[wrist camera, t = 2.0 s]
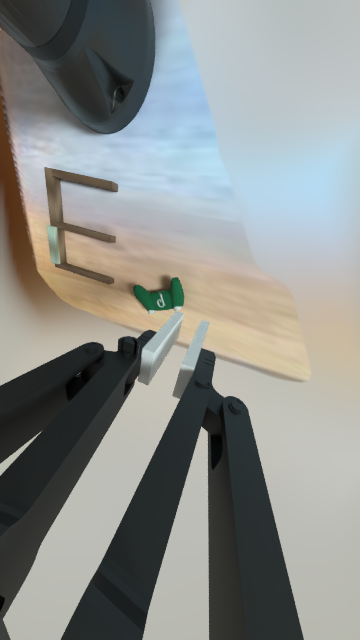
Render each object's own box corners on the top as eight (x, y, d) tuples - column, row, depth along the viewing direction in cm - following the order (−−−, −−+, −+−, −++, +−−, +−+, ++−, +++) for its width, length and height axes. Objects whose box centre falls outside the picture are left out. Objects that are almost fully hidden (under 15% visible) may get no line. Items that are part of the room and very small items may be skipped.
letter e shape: (52, 170, 30) (39, 165, 28) (118, 184, 28) (108, 179, 26) (61, 265, 38) (51, 266, 36) (113, 282, 36) (106, 285, 34)
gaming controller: (140, 282, 34) (148, 310, 36) (130, 287, 30) (140, 317, 33) (183, 274, 31) (189, 305, 33) (177, 277, 27) (185, 312, 29)
